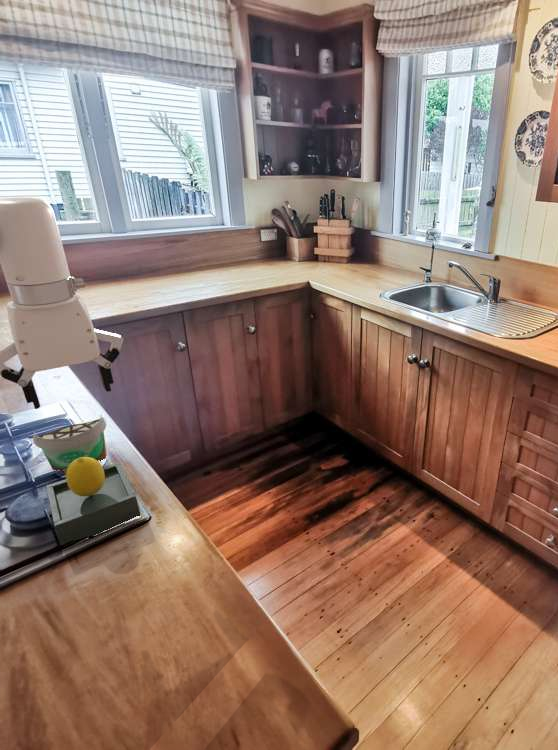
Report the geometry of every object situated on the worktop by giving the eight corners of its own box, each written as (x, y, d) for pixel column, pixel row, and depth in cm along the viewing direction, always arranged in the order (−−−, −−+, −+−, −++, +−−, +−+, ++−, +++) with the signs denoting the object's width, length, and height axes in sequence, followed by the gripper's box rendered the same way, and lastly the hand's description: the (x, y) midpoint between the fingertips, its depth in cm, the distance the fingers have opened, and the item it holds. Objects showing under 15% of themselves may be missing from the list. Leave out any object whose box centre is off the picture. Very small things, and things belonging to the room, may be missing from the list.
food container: (48, 492, 87) (32, 448, 83) (45, 474, 92) (30, 432, 87) (120, 469, 94) (109, 427, 90) (114, 454, 98) (103, 413, 94)
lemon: (97, 481, 85) (86, 444, 81) (115, 492, 82) (105, 455, 79) (66, 498, 80) (53, 460, 77) (84, 510, 78) (72, 472, 74)
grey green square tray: (62, 549, 76) (54, 526, 73) (53, 507, 84) (45, 485, 82) (141, 518, 82) (136, 496, 80) (125, 482, 91) (120, 461, 88)
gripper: (105, 277, 73) (127, 374, 81) (-36, 293, 64) (4, 401, 71) (115, 288, 68) (138, 391, 76) (-36, 308, 58) (7, 423, 66)
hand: (73, 396), depth 73 cm, fingers open, 9 cm apart
